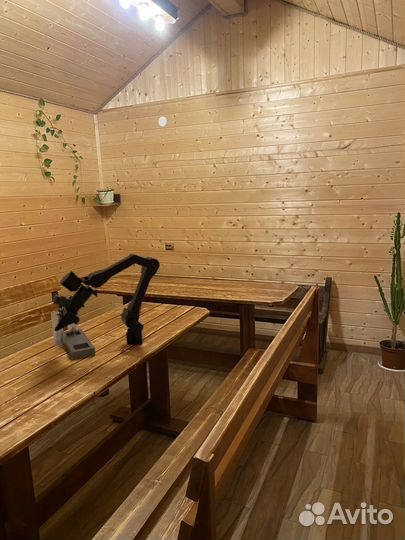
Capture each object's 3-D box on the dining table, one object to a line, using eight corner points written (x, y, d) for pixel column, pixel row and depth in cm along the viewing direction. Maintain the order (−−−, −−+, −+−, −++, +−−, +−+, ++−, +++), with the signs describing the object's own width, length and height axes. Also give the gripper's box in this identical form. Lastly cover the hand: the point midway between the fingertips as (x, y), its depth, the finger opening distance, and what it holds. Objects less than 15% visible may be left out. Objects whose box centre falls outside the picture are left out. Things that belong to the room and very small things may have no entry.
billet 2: (79, 338, 182) (76, 311, 179) (77, 341, 178) (74, 313, 175) (70, 338, 181) (68, 311, 179) (68, 341, 177) (65, 314, 175)
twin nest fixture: (81, 334, 186) (81, 328, 185) (95, 354, 162) (94, 347, 161) (61, 338, 182) (61, 332, 181) (73, 359, 157) (72, 352, 157)
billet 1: (65, 341, 161) (62, 311, 159) (63, 345, 157) (59, 314, 155) (56, 342, 161) (52, 312, 158) (53, 346, 157) (49, 315, 154)
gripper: (60, 282, 164) (35, 312, 161) (67, 291, 148) (40, 324, 145) (81, 298, 170) (57, 326, 167) (90, 308, 153) (64, 340, 150)
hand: (54, 329), depth 157 cm, fingers closed on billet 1, 4 cm apart
